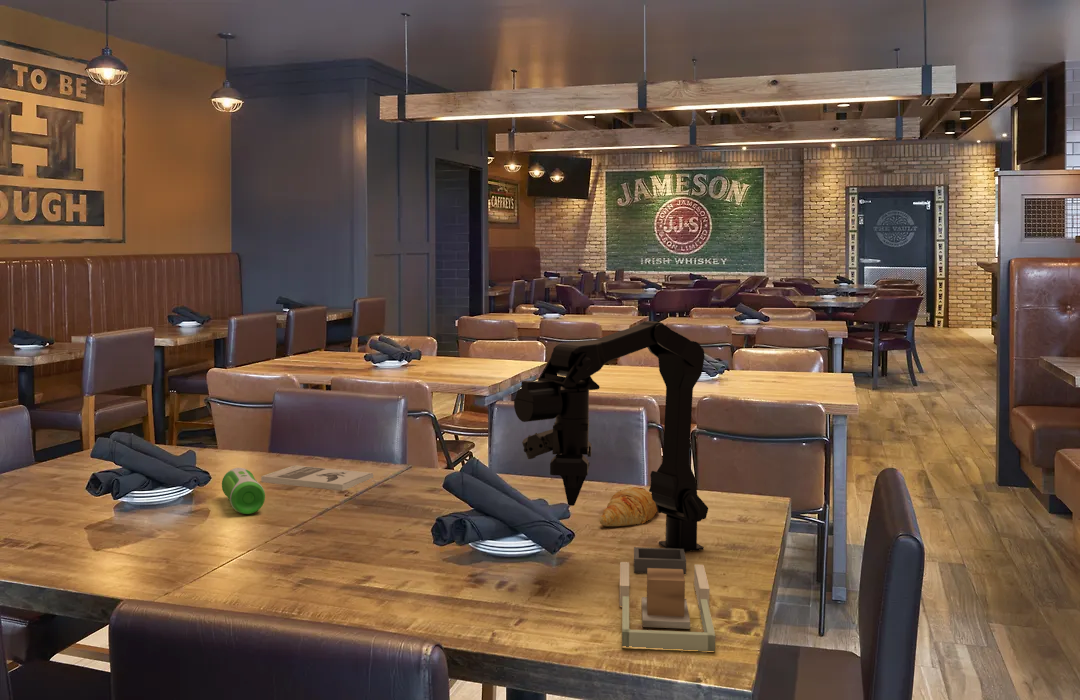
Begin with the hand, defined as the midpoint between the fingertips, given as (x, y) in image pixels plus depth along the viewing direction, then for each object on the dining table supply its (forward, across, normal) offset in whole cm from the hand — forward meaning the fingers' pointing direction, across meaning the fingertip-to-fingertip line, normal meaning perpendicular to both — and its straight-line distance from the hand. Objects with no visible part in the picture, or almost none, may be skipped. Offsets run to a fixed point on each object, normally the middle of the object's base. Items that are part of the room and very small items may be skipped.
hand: (571, 505), depth 169 cm
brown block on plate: (+12, +20, +16) cm, 28 cm away
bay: (+12, +25, +16) cm, 32 cm away
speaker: (+12, -37, -74) cm, 84 cm away
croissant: (+12, -37, +10) cm, 40 cm away
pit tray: (+12, -4, +16) cm, 20 cm away
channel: (+12, +11, +16) cm, 23 cm away
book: (+13, -63, -66) cm, 92 cm away
